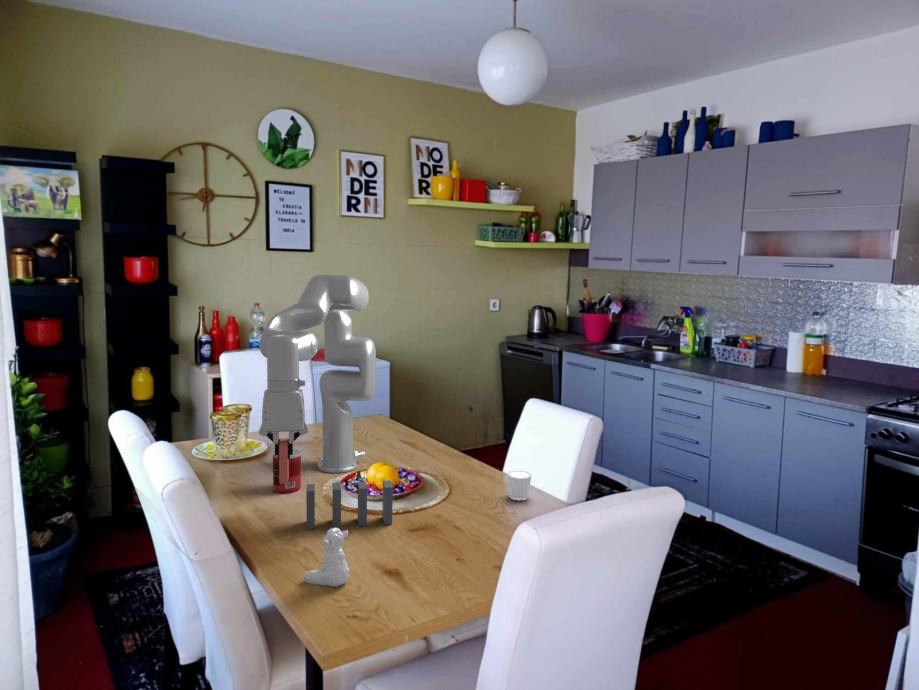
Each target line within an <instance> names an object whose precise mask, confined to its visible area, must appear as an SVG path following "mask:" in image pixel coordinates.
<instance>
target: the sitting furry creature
mask: <svg viewBox="0 0 919 690" xmlns="http://www.w3.org/2000/svg"><path fill="white" fill-rule="evenodd" d="M348 536H349V531H348V530H343V531H341V529H340V527H339V528H333V527H331V528H329V530H327V531H326V534H325V535H324V536H323V538H322V542H321V545H322V546H323V547H324V550H323V555H322V562H321V566H320V570H318V569H310V570H308V571H305V572H304V575H303V580H304V581H305V582H306V583H308V584H310V585H311V584H312V585H319V586H324V587H325V586H326V587H331V588H332V587H334V588H335V587H340V586H343V585H344V584H346V582H347V581H348V580H349V578H350V573H351V569H350V568H349V566H348V562H347V560H346V554H345V552H344V550H343V549H342V545H343V544H344V542H345V538H347V537H348Z"/></svg>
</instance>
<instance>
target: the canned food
mask: <svg viewBox="0 0 919 690" xmlns="http://www.w3.org/2000/svg"><path fill="white" fill-rule="evenodd" d="M272 482H273V483H272V487H273V491H274V492H275V493H276V494H277V493H278V494H284V495H285V494H286V495H287V493H288V494H293V492H294V493H296V492H298V491H299V490H301V488H302V453H301V450H299V449H295V448H293V455H290V459H289V477H288V483H284V484H279V460H278V455H277V456H275V451H274V452H273V453H272Z"/></svg>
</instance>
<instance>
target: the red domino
mask: <svg viewBox="0 0 919 690" xmlns="http://www.w3.org/2000/svg"><path fill="white" fill-rule="evenodd" d="M279 439H280V443H279V484H284V483H288V477H289V459H288V439H289V437H287V438H279Z"/></svg>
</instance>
